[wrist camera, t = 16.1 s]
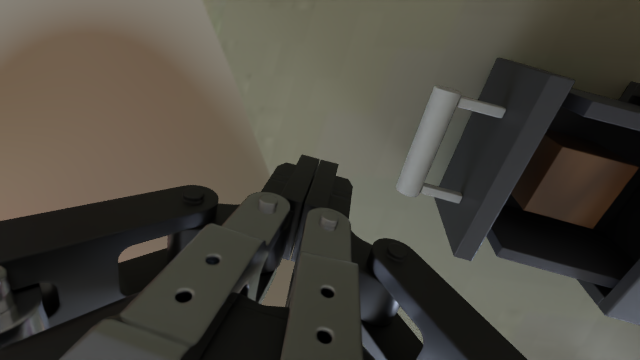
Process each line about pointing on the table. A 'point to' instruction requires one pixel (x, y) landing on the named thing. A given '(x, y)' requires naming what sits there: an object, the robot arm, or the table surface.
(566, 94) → the drawer
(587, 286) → the cabinet
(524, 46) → the table surface
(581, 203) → the block
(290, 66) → the table surface
